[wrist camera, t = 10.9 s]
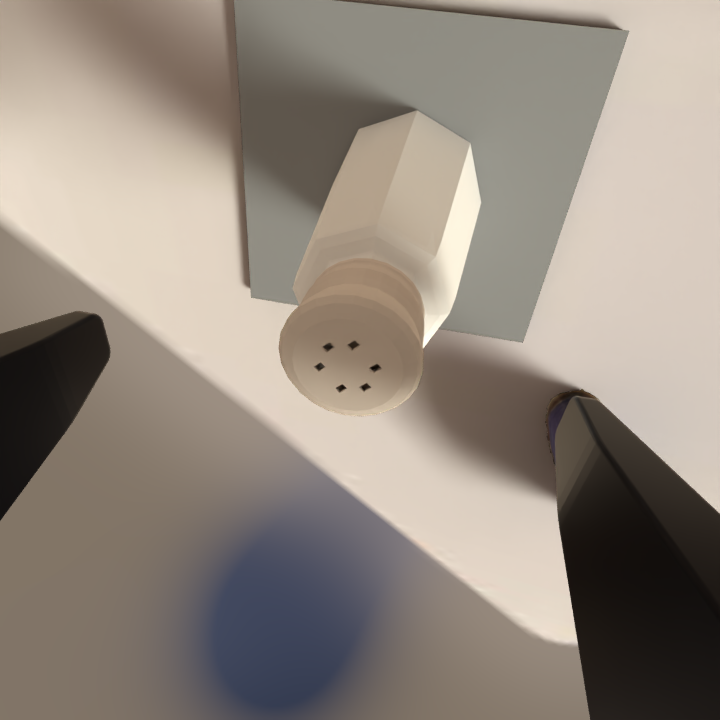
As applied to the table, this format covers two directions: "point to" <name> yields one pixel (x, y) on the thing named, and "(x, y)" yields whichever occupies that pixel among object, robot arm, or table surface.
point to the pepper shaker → (381, 266)
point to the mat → (435, 100)
